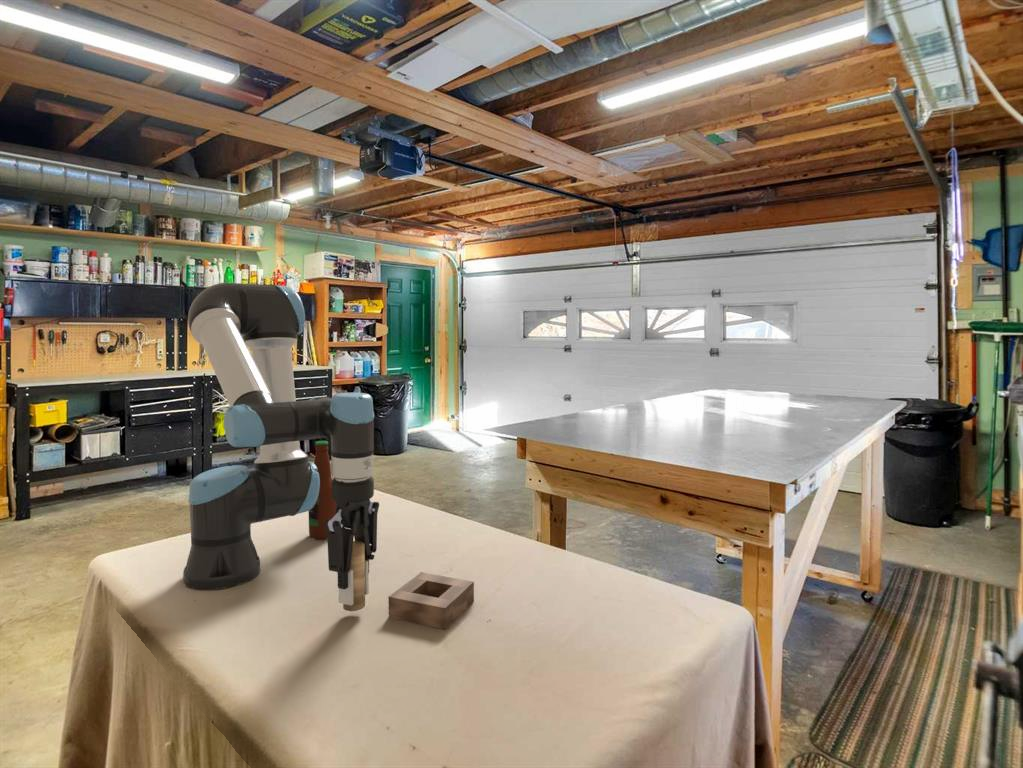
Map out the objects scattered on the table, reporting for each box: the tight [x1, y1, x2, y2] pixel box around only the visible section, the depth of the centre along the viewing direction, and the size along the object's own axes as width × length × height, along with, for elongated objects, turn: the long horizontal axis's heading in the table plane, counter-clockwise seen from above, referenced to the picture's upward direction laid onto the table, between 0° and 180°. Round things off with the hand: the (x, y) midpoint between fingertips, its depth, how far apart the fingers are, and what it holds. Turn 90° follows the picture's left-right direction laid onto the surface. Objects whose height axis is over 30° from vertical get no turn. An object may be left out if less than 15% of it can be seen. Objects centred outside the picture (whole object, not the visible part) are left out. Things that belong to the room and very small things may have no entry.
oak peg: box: [342, 540, 366, 612], centre depth 109 cm, size 4×4×12 cm
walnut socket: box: [388, 572, 475, 630], centre depth 112 cm, size 12×12×4 cm
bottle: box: [308, 440, 337, 541], centre depth 151 cm, size 7×7×25 cm
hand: (354, 597), depth 110 cm, fingers closed on oak peg, 4 cm apart
